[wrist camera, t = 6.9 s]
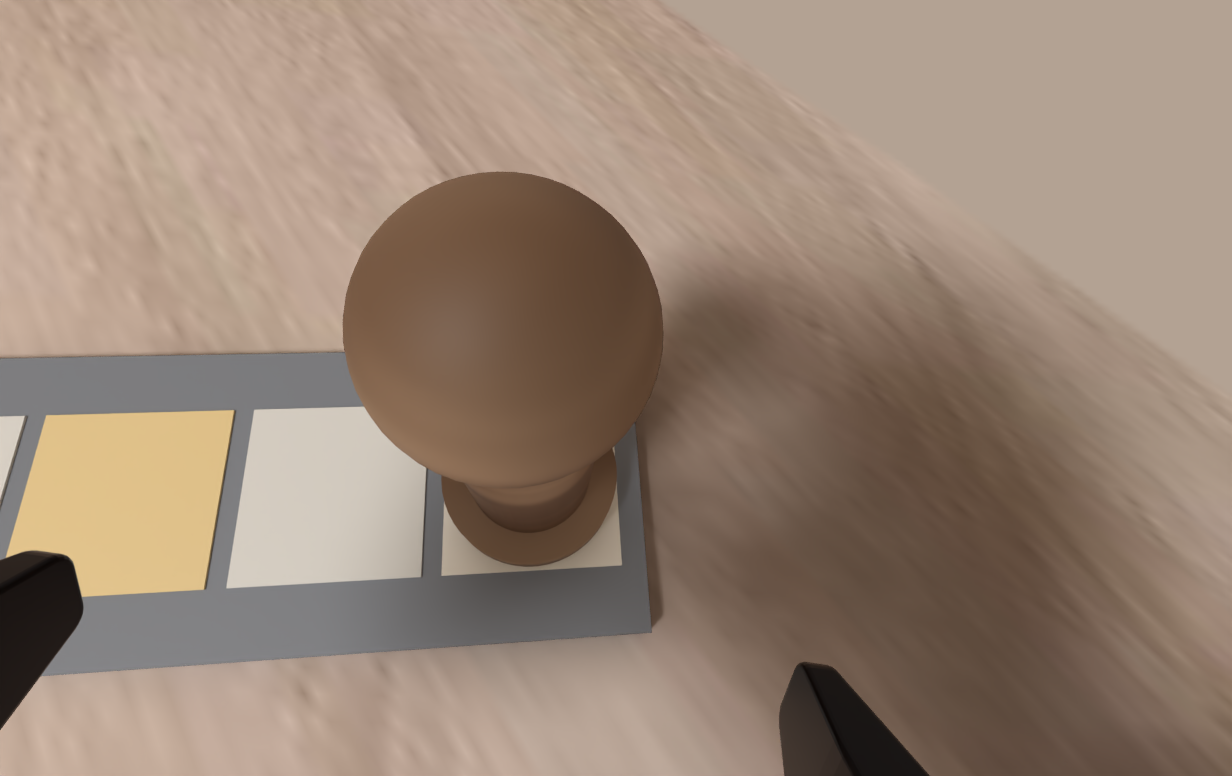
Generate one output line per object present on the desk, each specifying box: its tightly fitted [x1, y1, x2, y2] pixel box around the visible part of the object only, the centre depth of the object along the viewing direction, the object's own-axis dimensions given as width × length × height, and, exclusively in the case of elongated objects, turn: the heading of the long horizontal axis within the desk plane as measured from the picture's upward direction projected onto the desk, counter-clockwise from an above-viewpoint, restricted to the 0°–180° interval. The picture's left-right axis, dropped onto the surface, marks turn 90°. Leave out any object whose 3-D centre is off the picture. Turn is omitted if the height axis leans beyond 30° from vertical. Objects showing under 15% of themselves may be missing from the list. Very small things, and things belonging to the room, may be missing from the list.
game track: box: [0, 352, 652, 676], centre depth 18 cm, size 24×9×1 cm, turn 94°
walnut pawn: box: [343, 172, 663, 567], centre depth 13 cm, size 5×5×12 cm
